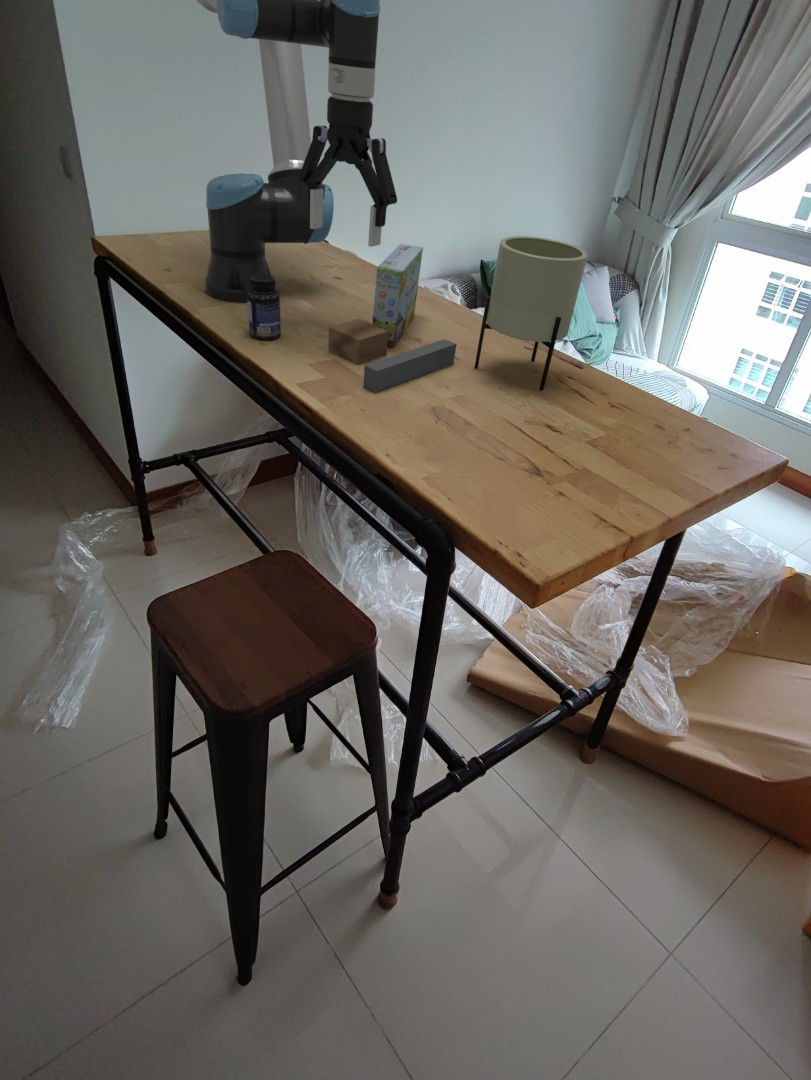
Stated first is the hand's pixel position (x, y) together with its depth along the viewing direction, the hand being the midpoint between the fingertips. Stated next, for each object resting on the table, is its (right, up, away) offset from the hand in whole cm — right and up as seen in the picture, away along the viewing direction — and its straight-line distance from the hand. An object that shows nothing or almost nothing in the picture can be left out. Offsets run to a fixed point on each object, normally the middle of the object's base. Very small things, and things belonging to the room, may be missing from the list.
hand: (344, 236), depth 119 cm
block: (+2, -20, +7) cm, 21 cm away
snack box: (+9, -11, +19) cm, 24 cm away
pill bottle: (-17, -16, +9) cm, 25 cm away
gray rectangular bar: (+12, -25, +1) cm, 28 cm away
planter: (+33, -24, +6) cm, 41 cm away
